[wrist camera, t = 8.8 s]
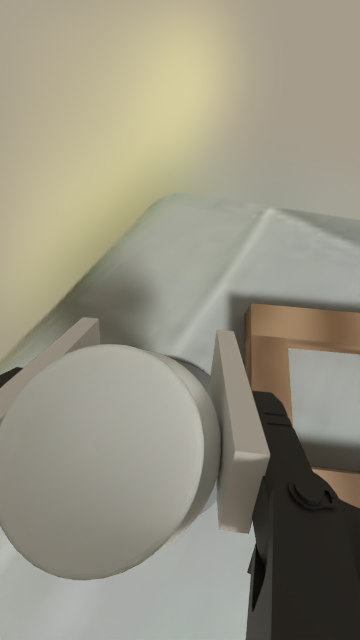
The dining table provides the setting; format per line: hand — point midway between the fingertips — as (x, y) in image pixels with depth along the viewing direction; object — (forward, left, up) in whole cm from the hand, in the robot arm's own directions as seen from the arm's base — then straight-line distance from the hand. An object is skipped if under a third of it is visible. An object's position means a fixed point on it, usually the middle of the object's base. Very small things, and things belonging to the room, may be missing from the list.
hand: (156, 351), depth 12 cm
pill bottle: (0, +4, -4) cm, 5 cm away
